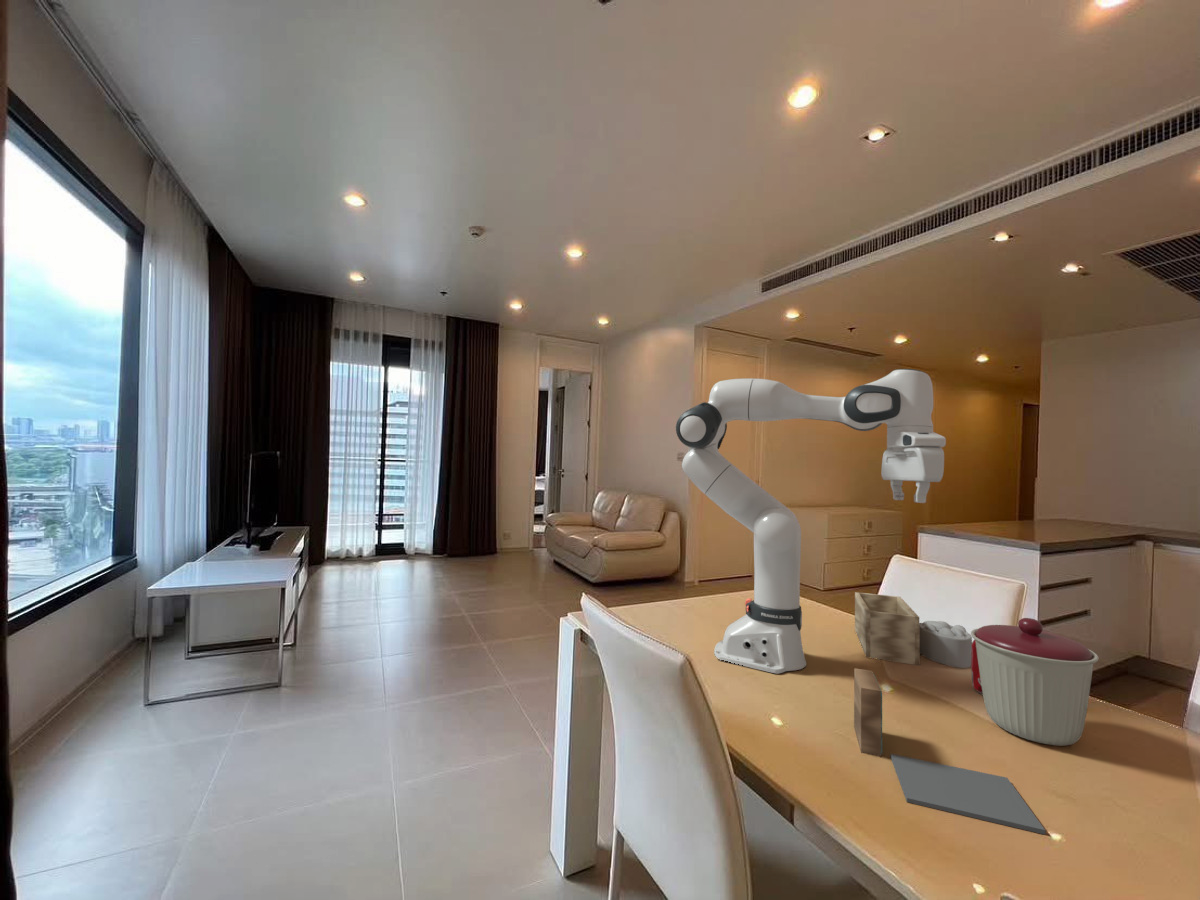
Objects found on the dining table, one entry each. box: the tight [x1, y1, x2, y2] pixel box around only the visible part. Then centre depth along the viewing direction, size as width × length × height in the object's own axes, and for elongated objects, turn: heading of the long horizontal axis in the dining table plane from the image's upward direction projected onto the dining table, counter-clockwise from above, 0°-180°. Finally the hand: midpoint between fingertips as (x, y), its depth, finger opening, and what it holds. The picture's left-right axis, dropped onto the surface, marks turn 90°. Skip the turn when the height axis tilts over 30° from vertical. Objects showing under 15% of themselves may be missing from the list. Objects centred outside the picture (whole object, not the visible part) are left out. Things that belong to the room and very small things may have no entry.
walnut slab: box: [853, 667, 883, 758], centre depth 86 cm, size 3×9×11 cm, turn 159°
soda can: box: [970, 639, 983, 696], centre depth 107 cm, size 7×7×12 cm
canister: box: [970, 617, 1099, 747], centre depth 92 cm, size 18×18×21 cm
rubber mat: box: [889, 753, 1046, 835], centre depth 73 cm, size 16×12×1 cm
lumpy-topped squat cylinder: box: [919, 620, 973, 669], centre depth 127 cm, size 10×13×9 cm
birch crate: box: [854, 591, 921, 666], centre depth 134 cm, size 12×22×12 cm, turn 159°
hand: (908, 501), depth 109 cm, fingers open, 8 cm apart
